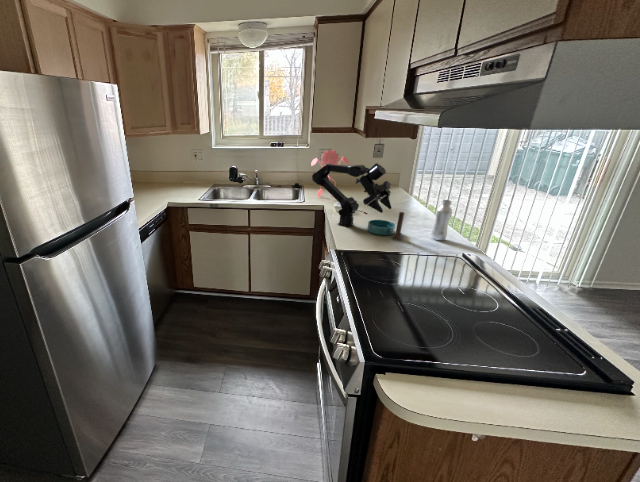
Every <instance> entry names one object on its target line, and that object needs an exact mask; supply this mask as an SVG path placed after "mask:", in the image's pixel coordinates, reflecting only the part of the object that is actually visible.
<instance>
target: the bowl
mask: <svg viewBox="0 0 640 482" xmlns="http://www.w3.org/2000/svg"><path fill="white" fill-rule="evenodd" d="M395 227H396V225H395V223H394V222H392V221H389V220H384V219H371V220H369V221H368V223H367V228H366V229H367V231H368V232H369V233H372V234H374V235H378V236H390V235H392V234H393V235H394V232H395Z"/></svg>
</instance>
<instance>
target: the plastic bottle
mask: <svg viewBox="0 0 640 482" xmlns="http://www.w3.org/2000/svg"><path fill="white" fill-rule="evenodd" d="M451 205H452V200H449V199H442V201H441V205H440V206H439V207H437V209H436V213H435V223H434V226H433V229H432V231H431V234H430V235H431V238H432V239H433V240H436V241H444V240H446V239H447V236H448V227H449V222H450V220H451V218H452V214H453V210H452V207H451Z"/></svg>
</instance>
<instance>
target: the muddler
mask: <svg viewBox="0 0 640 482" xmlns="http://www.w3.org/2000/svg"><path fill="white" fill-rule="evenodd" d="M404 216H405V212H404V211H399V213H398V219H397V223H396V229H395V231H394V233H393V236H392V239H393V240H395V241H400V240H402V236H403V233H402V227H403V223H404Z"/></svg>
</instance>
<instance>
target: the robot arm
mask: <svg viewBox="0 0 640 482" xmlns="http://www.w3.org/2000/svg"><path fill="white" fill-rule="evenodd" d="M323 166H324V167H321V168H319V170H316V172H314V173H313V174H312V176H311V180H312V182H313V183H314V184H316V185H318V186H319V187H322V188H324V189H325V190H326V191H327V193H329V194H330V195H331V197H332V196H333V197H332V198H334V199H335V201H337V202H338V203H339V205H340V209H339V210H338V215H339V222H338V223H337V224H338V225H339V226H343V227H347V228H349V227H351V226H352V225H354V220H355V219H354V215H355V214H356V212H357V211H358V210H359V203H358V201H357V200H355V198H354V197H353V196H350V197H348V196H346V195H345V194H344V193H343V192H342V191H341V190H340V189H339V188H338V187H336V185H335V184H334V183H333V182H332V181H330V180H329V178H328V176H330V174H331V172H333V173H340V174H346V175H348V176H351V177H354V178H356V179H355V185H358V184H360V185H361V186H362V188H363V189H364V190H363V192H364V193H365V194H367V195H368V196H366V197H365V198H363V200H362V203H363V204H364V206H367V207H370V208H372V209H374V210H376V211H377V212H379V213H380V214H382V213H384V210H383V208H382V206H381V205H380V203H381V204H382V205H384V206H385V207H386V208H387V209H389V210H391V209H392V208H393V207H392V204H391V200H390V196H391V193H392V192H391V190H390V189H391V185H392V184H391V182H390V181H388V180H386V181H383V183H382V184H379V183H377V182H375V181H377V180H379V179H380V178H382V177H383V176H384V175H385V174H387V172H386V169H385V168H384V167H383V166H382V165H380V164H379V163H378V162H377V163H374V164H373V165H372V166H371V167H370V168H369V167H366V165H364V164H355V165H345V164H344V165H343V164H339V165H338V164H337V165H335V164H326V165H325V164H324V165H323ZM379 202H380V203H379Z"/></svg>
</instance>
